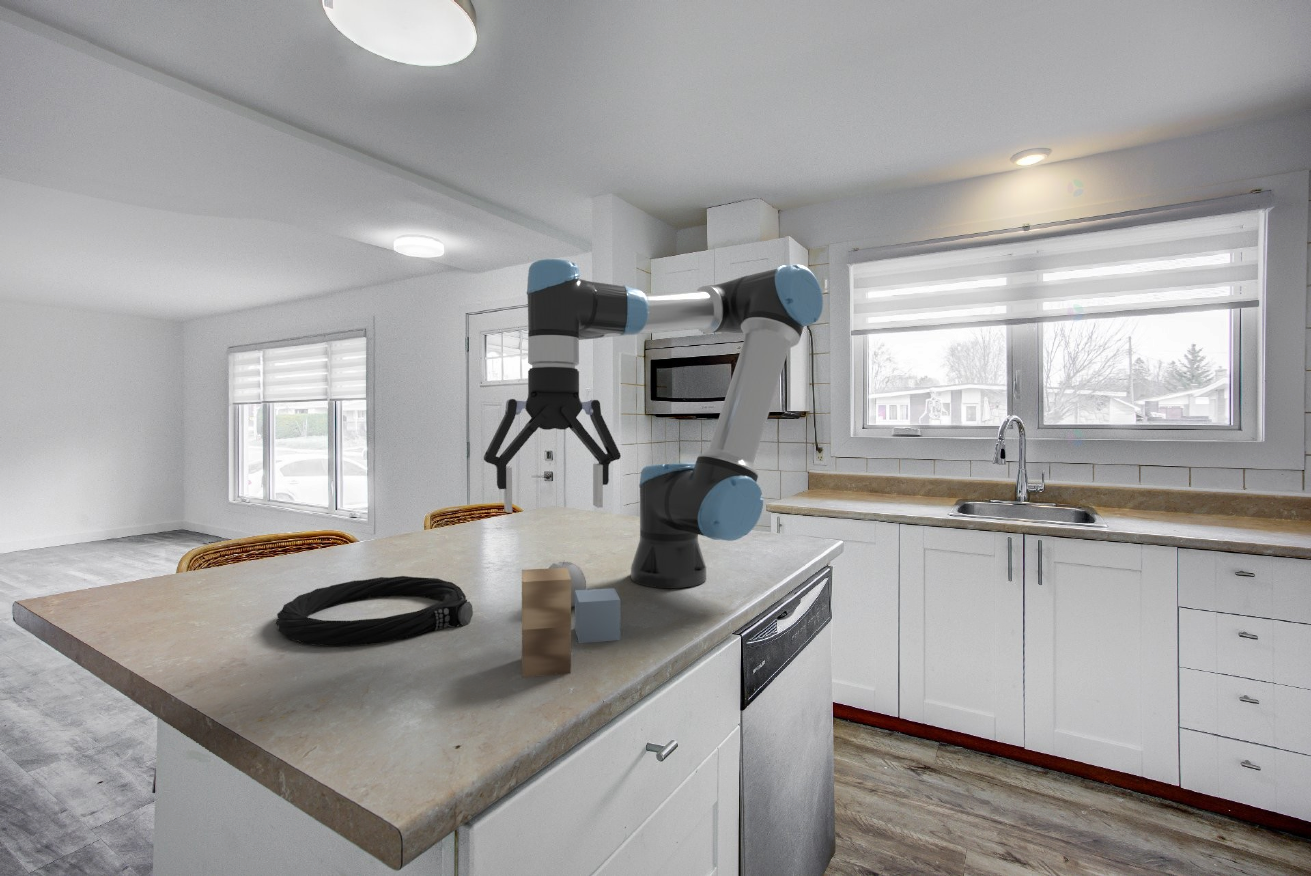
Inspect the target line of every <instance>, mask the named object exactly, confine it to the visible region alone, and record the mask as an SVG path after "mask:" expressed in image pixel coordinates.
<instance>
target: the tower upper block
mask: <svg viewBox="0 0 1311 876" xmlns="http://www.w3.org/2000/svg"><path fill="white" fill-rule="evenodd" d="M556 627H571V628H572V607H571V578H570V575H569V572H568V569H567V568H550V569H548V568H535V569H534V568H533V569H530V568H529V569H522V570H521V631H522V630H528V629H542V628H556Z"/></svg>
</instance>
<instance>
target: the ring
mask: <svg viewBox="0 0 1311 876" xmlns="http://www.w3.org/2000/svg"><path fill="white" fill-rule="evenodd" d="M398 596H399V597H423V598H427V599H430V600H436V601H437V600H439V601H440V602H437V603H434V604H432V605H430V606H428V607H425V608H422V609H419V610H417V611H411V612H406V613H401V614H396V615H391V616H386V617H378V618H377V617H376V618H365V619H355V620H354V619H353V620H327V619H325V620H323V619H318V618H312V617H308V616H310V615H313V614H315V613H317V612H319V611H320V610H324V609H327V608H331V607H335V606H337V605H340V604H344V603H350V602H355V601H362V600H366V599H373V598H387V597H398ZM473 614H474V609H473V605H472V603H471V601H468V599H467V596H466V594H465V593H464V591H463V590H462V589H461V587H460V586H458V585H457V584H455V583H453V582H452V581H447V580H443V579H441V578H437V577H436V578H434V577H421V576H420V577H418V576H416V577H415V576H407V575H401V576H399V575H398V576H392V577H390V576H389V577H383V576H381V577H374V578H369V579H362V580H352V581H347V582H342V583H341V582H340V583H337V584H332V585H330V586H326V587H319V588H316V589H314V590H311V591H309V592H306V593H303V594H299V595H298V596H296V597H295V598H293V599H292V600H291V601H289V602H287V603H285V604H284V605H283V607H282V609H280V611H279V612H278V613H277V614H276V616H277V619H276V621H275V623H274V624H275V625H276V626H278V628H277V630H278V631H279V632H280V633H281V634H282V635H284V636H285V637H286V639H288V640H291V641H296V642H300V643H301V644H305V645H308V646H326V647H346V646H347V647H348V646H363V645H364V646H365V645H375V644H381V643H387V642H392V641H396V640H397V641H398V640H403V639H408V638H412V637H415V636H420V635H421V634H423V633H427V632H430V631H432V630H433V631H435V632H436V631H441V630H443V629H446V628H448V626H449V627H453V628H457V627H459V626H463V627H464V626H466V625H467V626H468V625H469V624H470V622H471V620H472V619H473Z"/></svg>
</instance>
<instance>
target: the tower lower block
mask: <svg viewBox="0 0 1311 876" xmlns="http://www.w3.org/2000/svg"><path fill="white" fill-rule="evenodd" d="M571 632H572V626H571V627H556V628H542V629H528V630H522V629H521V676H522V677H521V678H532V677H541V676H554V675H555V676H556V675H566V674H568V675H569V674H572V673H571V672H572V671H571V670H572V668H571V667H572V666H571V665H572V659H571V658H572V652H571V651H572V643H571V641H572V633H571Z"/></svg>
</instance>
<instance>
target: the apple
mask: <svg viewBox="0 0 1311 876" xmlns="http://www.w3.org/2000/svg"><path fill="white" fill-rule="evenodd" d="M550 568H567V569H568V572H569V575H570V578H571V608H572V607H575V590H587V579H586V576H585V574H584V572H583V570H582V569H581V567H579V565H577V564H576V563H573V562H572V561H565V560H562V561H559V562H558V563H555V562H554V563H552V564H550V566H549V567H548V568H547V569H550Z"/></svg>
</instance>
